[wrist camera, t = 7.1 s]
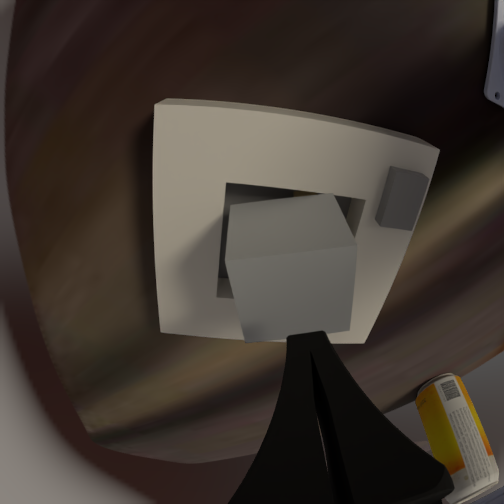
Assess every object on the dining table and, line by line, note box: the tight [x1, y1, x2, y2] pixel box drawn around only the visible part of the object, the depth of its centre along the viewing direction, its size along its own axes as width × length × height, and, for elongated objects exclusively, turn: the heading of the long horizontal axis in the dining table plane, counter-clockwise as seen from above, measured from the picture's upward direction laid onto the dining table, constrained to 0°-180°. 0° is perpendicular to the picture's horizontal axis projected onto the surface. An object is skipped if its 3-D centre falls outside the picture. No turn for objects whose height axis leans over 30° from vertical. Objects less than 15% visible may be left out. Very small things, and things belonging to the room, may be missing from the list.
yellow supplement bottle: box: [415, 373, 499, 504], centre depth 24 cm, size 6×6×15 cm
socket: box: [153, 98, 440, 343], centre depth 18 cm, size 14×14×3 cm
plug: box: [225, 191, 357, 343], centre depth 16 cm, size 5×5×6 cm
